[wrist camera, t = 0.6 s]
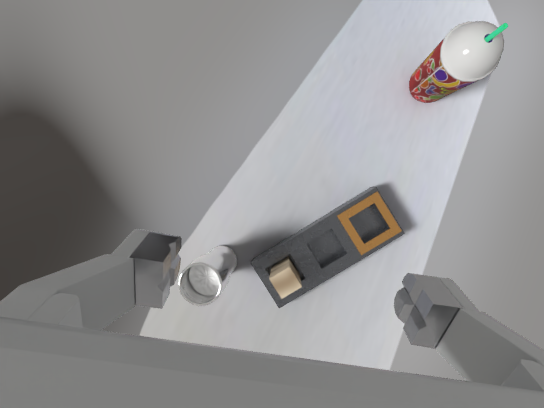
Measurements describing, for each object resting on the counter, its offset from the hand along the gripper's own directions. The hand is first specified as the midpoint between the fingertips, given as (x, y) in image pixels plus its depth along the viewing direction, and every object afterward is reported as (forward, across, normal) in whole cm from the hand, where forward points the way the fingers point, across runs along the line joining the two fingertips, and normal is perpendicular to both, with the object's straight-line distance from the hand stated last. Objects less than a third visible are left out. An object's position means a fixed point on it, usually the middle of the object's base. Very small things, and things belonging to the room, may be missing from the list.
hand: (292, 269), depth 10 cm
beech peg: (+37, +6, -28) cm, 47 cm away
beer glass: (+39, -6, -30) cm, 49 cm away
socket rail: (+40, +13, -23) cm, 47 cm away
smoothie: (+51, +26, +9) cm, 58 cm away
